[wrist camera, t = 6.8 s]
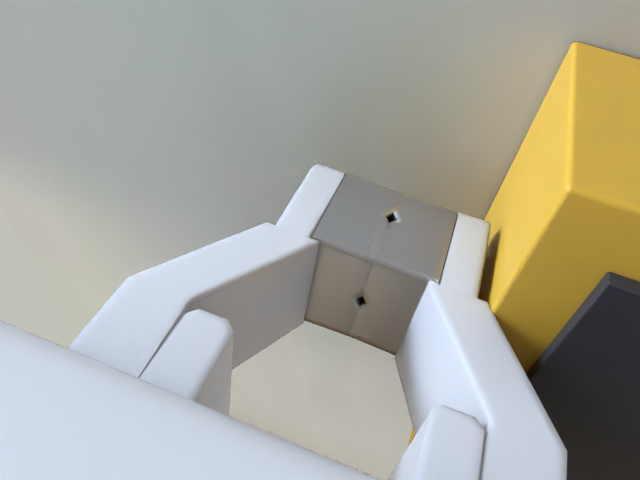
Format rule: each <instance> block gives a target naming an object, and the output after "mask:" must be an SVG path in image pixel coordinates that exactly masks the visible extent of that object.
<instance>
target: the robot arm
mask: <svg viewBox="0 0 640 480" xmlns="http://www.w3.org/2000/svg"><path fill="white" fill-rule="evenodd" d="M490 231H491V225H490V222H488V221H485V220H482V219H479V218H475V217H472V216H469V215H466V214H463V213H460V212H458V213H456V212H453V211H450V210H447V209H444V208H442V207H439V206H436V205H433V204H430V203H427V202H424V201H421V200H418V199H415V198H412V197H409V196H406V195H404V194H401V193H398V192H396V191H393V190H390V189H387V188H385V187H382V186H379V185H377V184H374V183H371V182H368V181H366V180H363V179H360V178H357V177H355V176H352V175H349V174H347V175H346V174H345V173H343V172H340V171H337V170H334V169H331V168H329V167H326V166H323V165H320V164H316V165H315V166H313V167H312V168H311V170H310V171H309V173H308V174H307V176H306V177H305V179H304V181H303V182H302V184H301V185H300V187H299V189H298V190H297V192H296V193H295V195H294V197H293V198H292V200H291V201H290V203H289V204H288V206H287V208H286V209H285V211H284V212H283V214H282V216H281V217H280V219H279V220H278V222H277V223H276V225H273V224H270V223H267V222H266V223H263V224H261V225H258V226H256V227H253V228H251V229H248V230H246V231H243V232H241V233H238V234H236V235H233V236H231V237H228V238H226V239H223V240H220V241H218V242H215V243H213V244H210V245H208V246H205V247H203V248H200V249H198V250H195V251H193V252H190V253H188V254H185V255H183V256H180V257H178V258H175V259H172V260H170V261H167V262H165V263H162V264H160V265H157V266H155V267H152V268H150V269H147V270H145V271H142V272H140V273H137V274H135V275H132V276H130V277H127V278H126V280H125V281H124V282H123V283H122V284H121V286H120V287H119V288H118V289H117V290H116V291H115V293H114V294H113V295H112V296H111V297H110V299H109V300H108V301H107V302H106V303H105V304H104V306H103V307H102V308H101V309H100V310H99V312H98V313H97V314H96V315H95V316H94V317H93V319H92V320H91V321H90V322H89V323H88V325H87V326H86V327H85V328H84V329H83V330H82V332H81V333H80V334H79V335H78V336H77V338H76V339H75V340H74V341H73V342H72V343H71V345H70V346H69V347H68V348H66V347H64V346H61V345H59V344H56V343H54V342H52V341H49V340H47V339H44V338H42V337H40V336H37V335H35V334H33V333H30V332H28V331H25V330H23V329H21V328H18V327H16V326H14V325H11V324H9V323H6V322H4V321H2V320H0V480H380V479H378V478H376V477H373V476H371V475H369V474H366V473H364V472H361V471H359V470H357V469H354V468H352V467H350V466H347V465H345V464H342V463H340V462H338V461H335V460H333V459H331V458H328V457H326V456H323V455H321V454H319V453H316V452H314V451H311V450H309V449H307V448H304V447H302V446H299V445H297V444H295V443H292V442H290V441H288V440H285V439H283V438H280V437H278V436H276V435H273V434H271V433H268V432H266V431H264V430H261V429H259V428H257V427H254V426H252V425H249V424H247V423H245V422H242V421H240V420H237V419H235V418H233V417H230V416H229V405H230V388H231V370H232V369H234V368H235V367H237V366H238V365H240V364H241V363H243V362H244V361H246V360H247V359H249V358H250V357H252V356H254V355H255V354H257V353H258V352H260V351H261V350H263V349H264V348H266V347H267V346H269V345H270V344H272V343H273V342H275V341H277V340H278V339H280V338H281V337H283V336H284V335H286V334H287V333H289V332H290V331H292V330H293V329H295V328H296V327H298V326H299V325H301V324H303V321H304V320H305V321H308V322H311V323H313V324H316V325H319V326H322V327H325V328H327V329H330V330H333V331H336V332H339V333H342V334H344V335H347V336H350V337H352V338H355V339H357V340H360V341H362V342H364V343H367V344H369V345H372V346H374V347H376V348H379V349H381V350H384V351H386V352H388V353H391V354H393V355H396V356H395V361H396V365H397V369H398V372H399V376H400V380H401V383H402V387H403V391H404V394H405V398H406V402H407V406H408V409H409V413H410V417H411V420H412V424H413V428H414V431H415V435H416V436H415V437H414V439H413V440H412V442H411V444H410V445H409V447H408V448H407V450H406V452H405V453H404V455H403V456H402V458H401V460H400V461H399V463H398V464H397V466H396V468H395V469H394V471H393V472H392V474H391V476H390V477H389V479H388V480H567V450H566V448H565V446H564V444H563V442H562V440H561V438H560V437H559V435H558V433H557V431H556V429H555V427H554V425H553V424H552V422H551V420H550V418H549V416H548V414H547V412H546V410H545V409H544V407H543V405H542V403H541V401H540V399H539V397H538V395H537V394H536V392H535V390H534V388H533V386H532V384H531V382H530V381H529V379H528V377H527V375H526V373H525V371H524V369H523V367H522V366H521V364H520V362H519V360H518V358H517V356H516V354H515V352H514V351H513V349H512V347H511V345H510V343H509V341H508V339H507V338H506V336H505V334H504V332H503V330H502V328H501V326H500V324H499V323H498V321H497V319H496V317H495V315H494V313H493V312H492V310H491V308H490V306H489V304H488V302H486V301H483V300H480V299H478V295H479V290H480V284H481V279H482V274H483V268H484V263H485V258H486V252H487V247H488V241H489V236H490Z"/></svg>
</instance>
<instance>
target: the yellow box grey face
mask: <svg viewBox="0 0 640 480" xmlns="http://www.w3.org/2000/svg"><path fill="white" fill-rule="evenodd" d="M485 221H488V222H490V225H491V231H490V236H489V241H488V247H487V252H486V258H485V263H484V268H483V274H482V279H481V284H480V290H479V295H478V299H480V300H483V301H486V302H488V304H489V306H490V308H491V310H492V312H493V313H494V315H495V317H496V319H497V321H498V323H499V324H500V326H501V328H502V330H503V332H504V334H505V336H506V338H507V339H508V341H509V343H510V345H511V347H512V349H513V351H514V352H515V354H516V356H517V358H518V360H519V362H520V364H521V366H522V367H523V369H524V371H525V373H526V375H527V377H528V379H529V381H530V382H531V384H532V386H533V388H534V390H535V392H536V394H537V395H538V397H539V399H540V401H541V403H542V405H543V407H544V409H545V410H546V412H547V414H548V416H549V418H550V420H551V422H552V424H553V425H554V427H555V429H556V431H557V433H558V435H559V437H560V438H561V440H562V442H563V444H564V446H565V448H566V450H567V480H640V60H639V59H636V58H632V57H629V56H625V55H622V54H618V53H615V52H611V51H608V50H604V49H601V48H597V47H594V46H590V45H587V44H583V43H580V42H574V43H573V44H572V45H571V46H570V48H569V50H568V52H567V54H566V56H565V58H564V60H563V62H562V64H561V66H560V68H559V70H558V72H557V74H556V76H555V78H554V80H553V82H552V84H551V86H550V88H549V90H548V93H547V95H546V97H545V99H544V101H543V103H542V105H541V107H540V109H539V111H538V113H537V115H536V117H535V119H534V121H533V123H532V125H531V127H530V129H529V131H528V133H527V135H526V137H525V139H524V141H523V143H522V145H521V147H520V149H519V151H518V153H517V155H516V157H515V159H514V161H513V163H512V165H511V167H510V169H509V171H508V173H507V175H506V177H505V179H504V181H503V183H502V185H501V187H500V189H499V191H498V193H497V195H496V197H495V199H494V201H493V203H492V205H491V208H490V210H489V212H488V214H487V216H486V218H485ZM415 436H416V435H415V431H414V428H413V429H412V433H411V437H410V441H409V445H410V444H411V442H412V440H413V439H414V437H415Z"/></svg>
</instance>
